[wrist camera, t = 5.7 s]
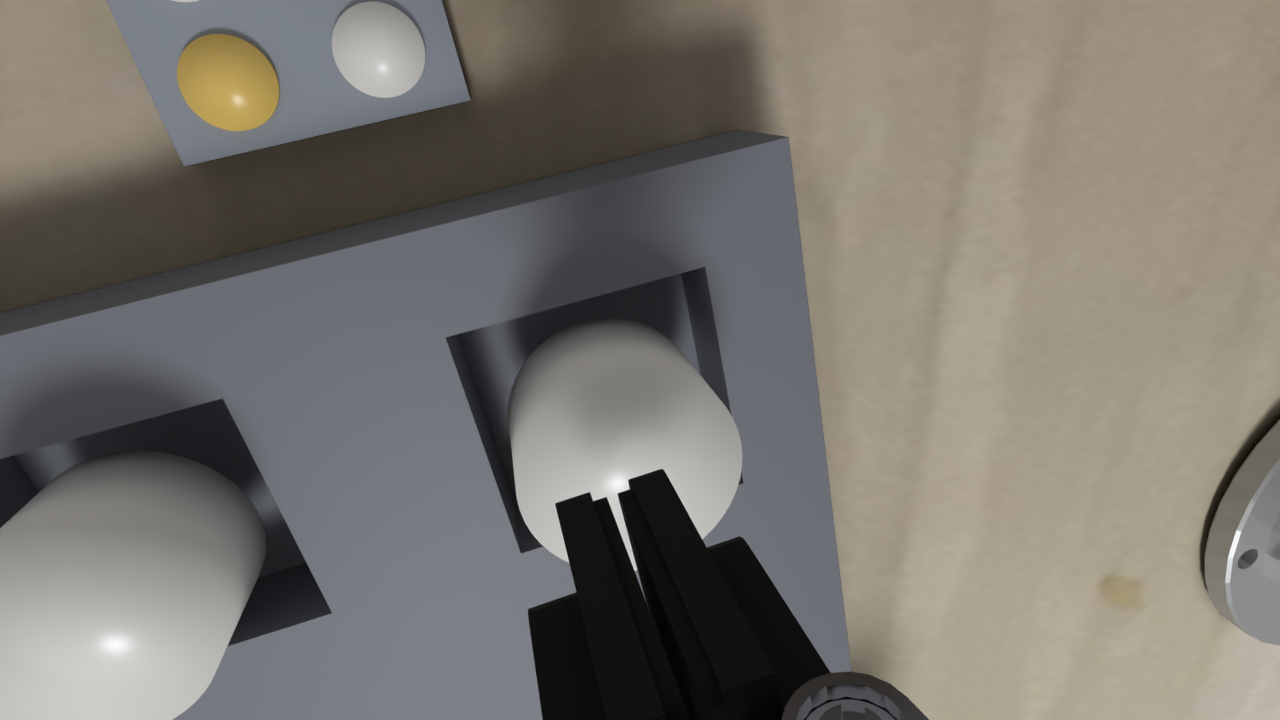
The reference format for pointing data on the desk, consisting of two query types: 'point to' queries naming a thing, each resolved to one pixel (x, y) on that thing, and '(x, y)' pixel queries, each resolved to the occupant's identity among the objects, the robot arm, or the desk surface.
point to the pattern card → (287, 67)
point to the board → (437, 415)
